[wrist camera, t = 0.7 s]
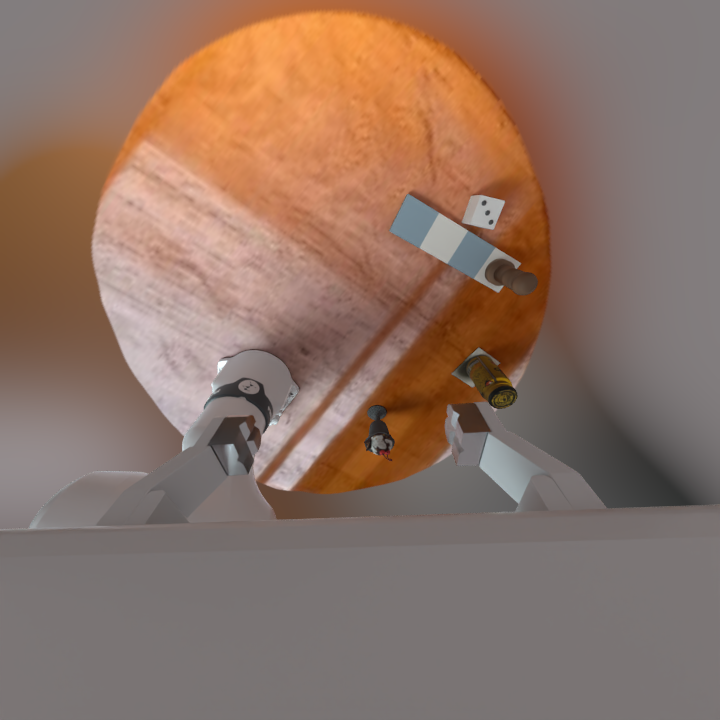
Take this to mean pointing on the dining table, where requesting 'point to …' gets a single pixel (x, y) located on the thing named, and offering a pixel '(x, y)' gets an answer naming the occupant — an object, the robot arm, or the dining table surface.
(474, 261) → the board
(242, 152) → the dining table surface
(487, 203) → the die
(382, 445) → the sundae
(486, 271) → the pawn
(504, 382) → the condiment
